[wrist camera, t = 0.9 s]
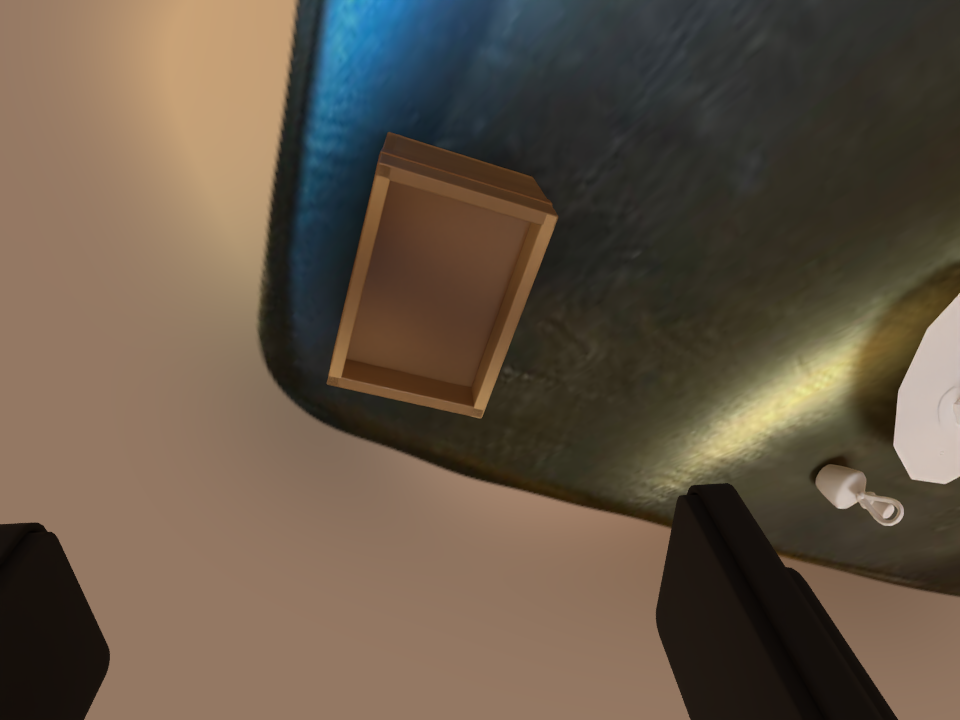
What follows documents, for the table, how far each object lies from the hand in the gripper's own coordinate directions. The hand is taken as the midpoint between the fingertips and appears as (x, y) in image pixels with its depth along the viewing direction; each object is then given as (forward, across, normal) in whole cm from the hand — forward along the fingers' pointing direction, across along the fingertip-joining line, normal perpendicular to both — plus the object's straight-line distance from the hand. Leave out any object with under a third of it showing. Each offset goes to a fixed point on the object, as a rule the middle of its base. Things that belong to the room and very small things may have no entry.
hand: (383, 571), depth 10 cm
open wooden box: (+20, -1, +2) cm, 21 cm away
